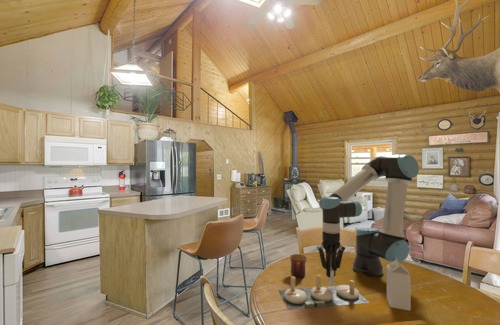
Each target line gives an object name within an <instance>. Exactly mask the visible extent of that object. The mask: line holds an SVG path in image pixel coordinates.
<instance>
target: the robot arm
mask: <svg viewBox="0 0 500 325" xmlns="http://www.w3.org/2000/svg"><path fill="white" fill-rule="evenodd" d="M419 169H420V166H419V163H418V160H416V158H415V156H413V155H411V154H401V153H400V154H389V155H387V154H386V155H385V154H384V155H380V156H377V157H376V158H373V159H372V160H369V162H367V163H366V164H364V165H363V166H362V167H361V169H360V171H359V172H358V173H356V174H355V175H354V176H352V178H350V179H349V180H348V181H345V183H344V184H343V185H341V186H340V187H339V188H338V189H336V190H335V191H334V192H332V193H331V194H330V195H328V196H322V197H321V198H320V199H319V201H318V205H319V208H320V209H321V210H322V230H323V231H322V233H321V234H322V241H321V245H319V246H317V247H316V249H317V251H318V255H319V258H320V263H321V266H322V267H323V269H325V270H326V272H325V275H326V277H327V283H328V284H329V286H335V277H336V276H337V275H336V271H337V270H338V269H340V268H341V264H342V260H343V255H344V251H345V250H346V247H345V246H343V245H342V244H341V242H340V240H341V233H340V231H341V219H342V218H356V217H359V216H361V215H362V213H363V206H362V204H361V202H360V201H358V200H351V198H353V197H354V196H355V195H356V194H358V193H359V192H360V191H362V189H363V188H364V187H366V186H367V185H368V184H369V183H370V182H372V181H376V180H378V178H381V177H385V178H384V179H385V180H386V182H387V187H386V188H387V190H386V196H385V197H386V198H385V206H384V213H383V220H382V228H380V229H378V228H375V227H373V228H372V227H361V228H357V229H356V232H355V233H356V234H355V252H356V253H355V257H354V259H353V261H352V269H353V270H354V271H355V272H357V273H362V274H364V276H371V277H380V276H382V275H383V274H384V269H383V268H384V267H383V265H382V262H381V260H380V258H381V259H383V260H386V261H387V262H389V263H391V262H393V261H395V260H396V258H397V259H398V261H399V262H400V264H401V263H403V262H404V261H405V260H406V259H407V258H408V257H409V254H410V248H411V247H410V245H409V243H408V242H407V241H406V236H405V234H404V233H403V225H404V216H405V208H406V200H407V191H408V185H409V184H411V183H412V180H413V179H414V178H416V177H417V176H418V175H419V171H420V170H419ZM379 275H380V276H379Z"/></svg>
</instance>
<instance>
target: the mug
mask: <svg viewBox="0 0 500 325" xmlns="http://www.w3.org/2000/svg"><path fill="white" fill-rule="evenodd" d="M289 259H290V277H291V276H294V277H295V278H296V279H297V278H299V279H300V278H305V277H306V263H307V256H306V255H304V254H299V253H293V254H290V255H289Z"/></svg>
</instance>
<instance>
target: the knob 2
mask: <svg viewBox="0 0 500 325" xmlns="http://www.w3.org/2000/svg"><path fill="white" fill-rule="evenodd" d="M348 285H349V286H348ZM336 286H337V288H336V292H337V294H338V295H339V296H341V297H343V298H346V299H357V298H358V297H359V294H360V291H359V289H357V288H356V287H355V280H353V279H349V284H340V285H336Z"/></svg>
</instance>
